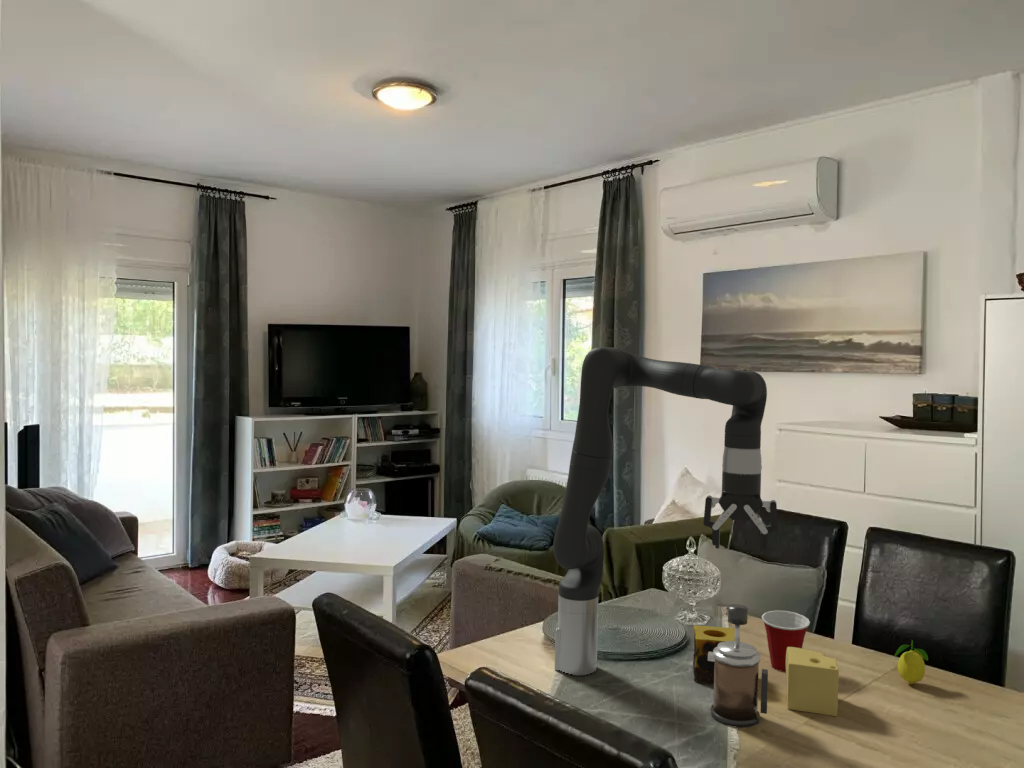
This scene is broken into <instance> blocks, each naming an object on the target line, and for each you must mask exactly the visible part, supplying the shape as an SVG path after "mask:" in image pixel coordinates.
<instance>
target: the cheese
mask: <svg viewBox="0 0 1024 768" xmlns="http://www.w3.org/2000/svg"><path fill="white" fill-rule="evenodd" d="M785 673H786V674H785V675H786V681H787V682H786V684H787V690H786V691H787V692H786V697H787V698H786V700H787V701H786V702H787V704H786V705H787V707H786V709H788V710H792V711H798V712H800V711H801V712H805V713H813V714H820V715H826V716H833V717H838V710H839V709H838V706H839V684H840V683H839V682H840V681H839V676H840V672H839V666H838V662H837V659H836V658H832V657H829V656H826V655H825V654H824V653H823V652H820V651H817V650H816V651H815V650H812V649H811V650H810V649H805V648H803V647H802V648H796V647H787V651H786V672H785Z"/></svg>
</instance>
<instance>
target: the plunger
mask: <svg viewBox="0 0 1024 768" xmlns="http://www.w3.org/2000/svg"><path fill="white" fill-rule="evenodd" d="M727 609H728V610H727V622H728V623H729V624H731V625H734V629H735V641H725V642H721V643H719V644H718V646H717V649H718V651H719V652H720V653H722V654H725V655H728V656H731V657H738V658H748V657H753V656H755V655H756V651H757V647H755V646H754V645H751V644H749V643H746V642H743V641H741V639H740V638H741V637H740V636H741V626H745V625H747V624H748V620H749V619H748V615H749V614H748V613H749V612H748V609H749V607H747V605H742V604H739V603H738V604H737V603H735V604H733V603H732V604H728V605H727Z"/></svg>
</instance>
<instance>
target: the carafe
mask: <svg viewBox="0 0 1024 768" xmlns="http://www.w3.org/2000/svg"><path fill="white" fill-rule="evenodd" d="M761 657H762V655H761V654H760V652H759V651H757V650H756V655H755V656H753V657H748V658H738V657H731V656H728V655H725V654H722V653H720V652H719V651H718V649H717V647H715V648H714V650H713V652H708V661H713V662H715V664H714V684H713V703H712V705H711V707H710V716H711V718H713V720H715V721H716V722H718V723H720V724H721V725H722V724H723V725H726V726H730V727H733V728H734V727H735V728H751V727H754V726H757V725H759V723H760V720H761V714H765V715H767V714H768V711H767V710H768V690H769V689H768V687H769V686H768V684H769V683H768V682H769V680H768V679H769V669H766V668H765V669H764V668H761V676H760V677H761V680H760V681H761V683H760V712H759V710H758V707H759V705H758V704H759V702H758V701H759V700H758V699H759V672H760V671H759V670H760V667H759V665H760V663H761Z"/></svg>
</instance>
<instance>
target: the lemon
mask: <svg viewBox="0 0 1024 768" xmlns="http://www.w3.org/2000/svg"><path fill="white" fill-rule="evenodd" d="M910 646H911V647H910ZM909 647H910V650H909V651H905V652H903V651H904V650H906V649H907V648H909ZM913 649H914V650H913ZM901 652H903V653H902V654H901V655H900V657H899V659H898V662H897V672H898V674H899V676H900V678H902V679H903V680H904V681H906V682H907V683H909V684H910V685H914V684H915V683H918V682H921V681H922V680H923V679H924V677H925V675H926V665H925V664H926V663H925V661H926V662H927V661H929V657H928V654H927V652H926V651H925V650H924V649H922V648H915V647H914V641H913V640H912V639H911V644H910V645H909V644H902V645H900V646H899V647H898V649H896V651H895V653H894V657H896V656H898V655H899V654H900V653H901Z"/></svg>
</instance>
